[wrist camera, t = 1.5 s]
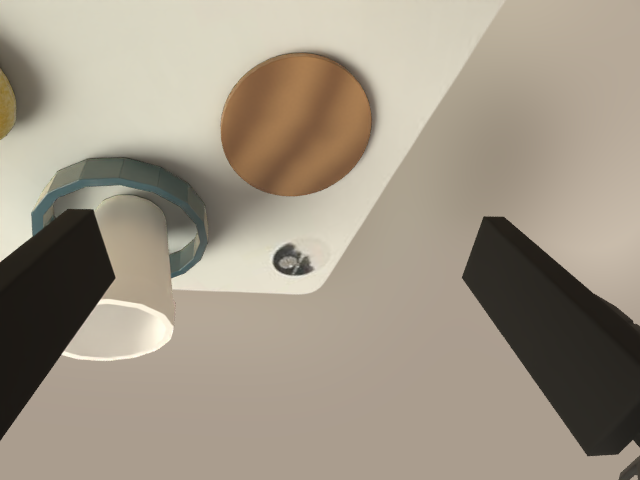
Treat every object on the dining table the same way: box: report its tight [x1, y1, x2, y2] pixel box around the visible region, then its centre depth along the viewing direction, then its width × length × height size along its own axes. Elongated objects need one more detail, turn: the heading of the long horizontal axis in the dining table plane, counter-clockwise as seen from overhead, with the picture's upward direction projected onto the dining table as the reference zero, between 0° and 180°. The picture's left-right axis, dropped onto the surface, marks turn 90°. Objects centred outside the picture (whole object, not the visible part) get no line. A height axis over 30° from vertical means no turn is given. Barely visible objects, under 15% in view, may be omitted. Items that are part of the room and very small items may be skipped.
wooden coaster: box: [221, 53, 372, 196], centre depth 31 cm, size 14×14×1 cm
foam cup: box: [61, 195, 176, 361], centre depth 30 cm, size 10×9×13 cm
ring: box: [31, 158, 208, 278], centre depth 33 cm, size 15×15×3 cm
